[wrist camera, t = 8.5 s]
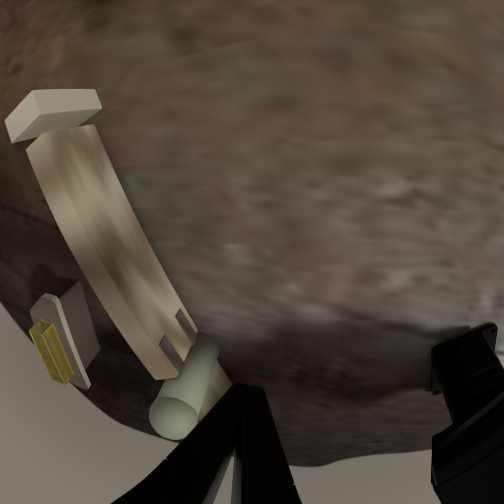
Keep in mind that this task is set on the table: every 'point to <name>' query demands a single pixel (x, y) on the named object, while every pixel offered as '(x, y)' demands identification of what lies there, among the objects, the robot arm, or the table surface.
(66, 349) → the platform
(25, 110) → the cream l-shaped block
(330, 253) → the table surface
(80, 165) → the cream wooden bar
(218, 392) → the block
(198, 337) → the hinge post
